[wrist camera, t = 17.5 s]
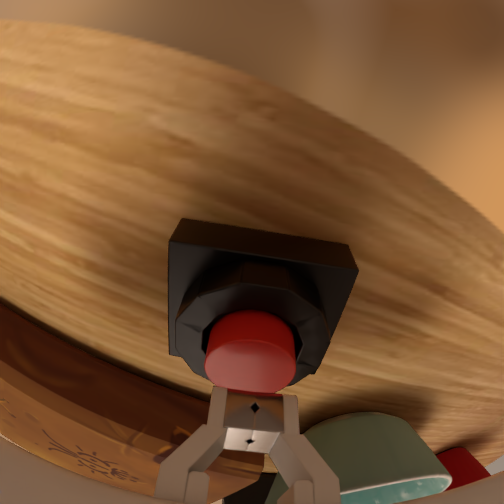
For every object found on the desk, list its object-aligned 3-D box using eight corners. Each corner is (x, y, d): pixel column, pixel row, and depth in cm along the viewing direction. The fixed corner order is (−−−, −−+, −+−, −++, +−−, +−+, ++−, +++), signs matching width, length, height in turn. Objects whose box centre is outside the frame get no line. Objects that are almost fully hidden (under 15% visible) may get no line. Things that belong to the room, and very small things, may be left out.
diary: (265, 411, 22) (264, 477, 17) (193, 473, 31) (187, 513, 26) (-6, 292, 18) (-47, 341, 13) (18, 399, 27) (0, 435, 22)
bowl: (304, 373, 20) (312, 489, 12) (461, 390, 21) (489, 465, 14) (241, 457, 27) (236, 528, 20) (370, 465, 29) (378, 524, 22)
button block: (181, 217, 15) (155, 262, 11) (348, 244, 15) (370, 294, 11) (177, 326, 18) (161, 379, 15) (311, 345, 18) (317, 400, 15)
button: (213, 302, 12) (206, 333, 11) (303, 315, 12) (307, 346, 11) (207, 360, 14) (201, 390, 13) (283, 370, 14) (284, 400, 13)
